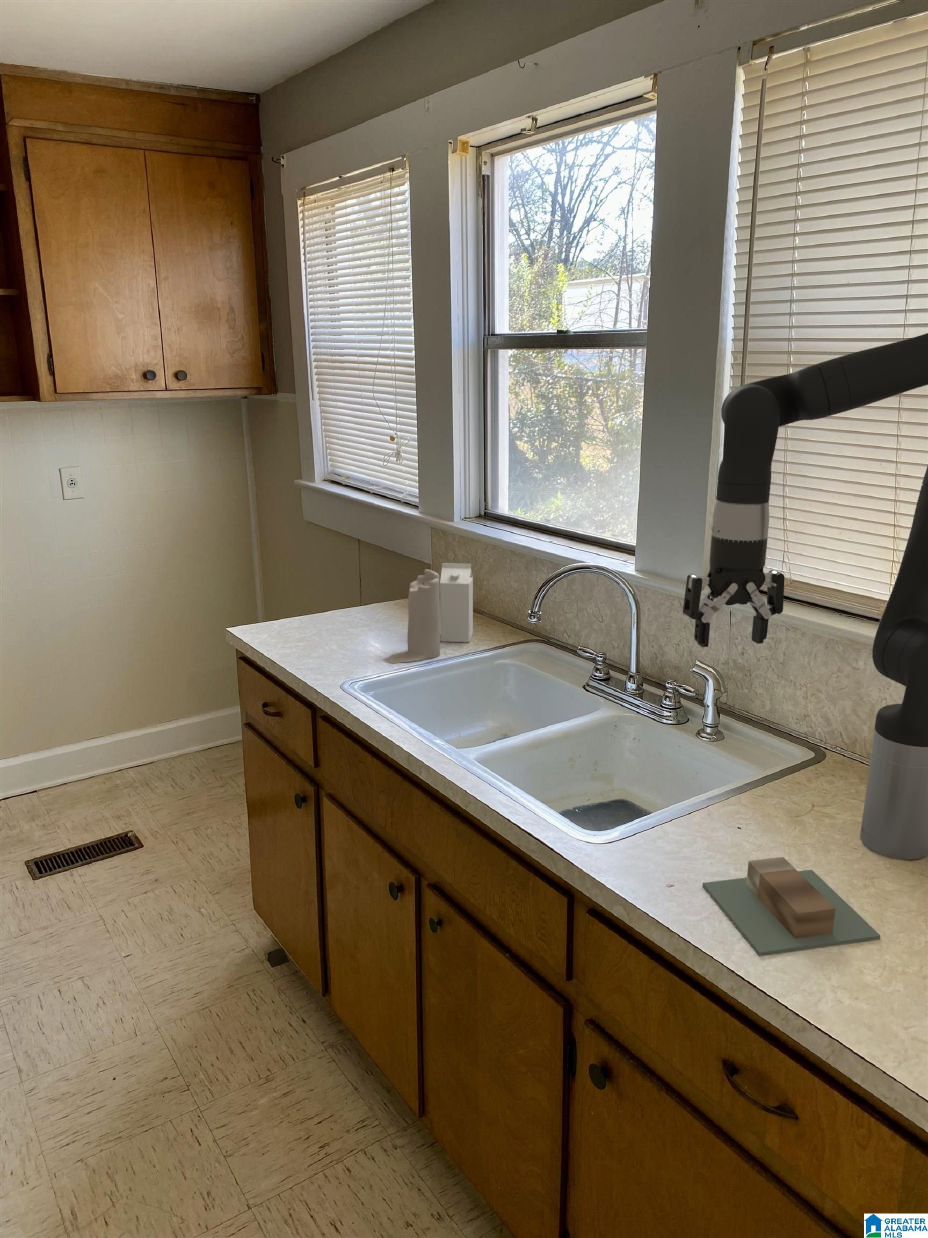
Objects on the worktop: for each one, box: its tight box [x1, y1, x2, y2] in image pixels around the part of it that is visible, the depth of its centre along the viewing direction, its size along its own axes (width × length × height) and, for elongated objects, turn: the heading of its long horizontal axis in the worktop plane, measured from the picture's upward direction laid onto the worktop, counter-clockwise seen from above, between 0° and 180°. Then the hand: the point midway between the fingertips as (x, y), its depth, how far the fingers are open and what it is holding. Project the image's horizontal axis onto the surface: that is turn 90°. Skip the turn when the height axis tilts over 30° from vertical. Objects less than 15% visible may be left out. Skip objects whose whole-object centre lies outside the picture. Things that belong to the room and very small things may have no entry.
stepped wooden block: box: [746, 856, 836, 939], centre depth 116 cm, size 12×5×4 cm, turn 12°
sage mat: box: [702, 869, 881, 957], centre depth 117 cm, size 16×15×1 cm
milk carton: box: [439, 562, 474, 643], centre depth 225 cm, size 7×7×19 cm
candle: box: [382, 568, 441, 664], centre depth 211 cm, size 7×14×20 cm, turn 121°
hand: (730, 644), depth 132 cm, fingers open, 8 cm apart
